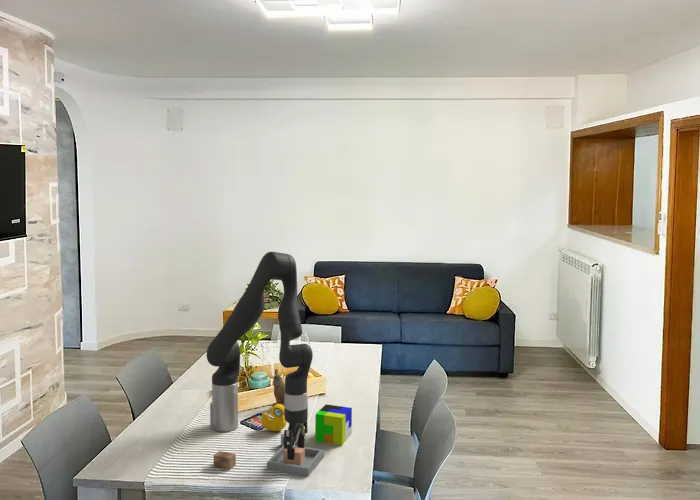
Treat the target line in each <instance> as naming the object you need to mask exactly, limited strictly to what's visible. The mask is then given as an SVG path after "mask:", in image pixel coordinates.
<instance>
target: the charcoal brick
mask: <svg viewBox="0 0 700 500" xmlns="http://www.w3.org/2000/svg"><path fill="white" fill-rule="evenodd" d="M293 438H294V437H293ZM280 445H281V447H282V446H283V445H284V433H280ZM289 445H290V444H289ZM295 446H298V441H297V442H296V443H295Z"/></svg>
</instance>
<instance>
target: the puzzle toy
mask: <svg viewBox="0 0 700 500" xmlns="http://www.w3.org/2000/svg"><path fill="white" fill-rule="evenodd" d="M352 409H353V407H348V406H347V407H346V406H341V405H333V404H325V405H324V406H322V407H321V408H320V409H319V410H318V411H317V412H316V413H315V417H314V418H315V422H314V423H315V433H314V434H315V442H319V443H324V442H325V443H324V444H332V445H338V446H343V445H344V444H345V443H346V442H347V440H348V439H349V438H350V437H351V436H352V433H353V432H352V430H353V429H352V428H353V427H352V426H353V425H352V423H353V422H352V419H353V418H352V415H353V413H352V412H353V410H352ZM344 442H345V443H344Z"/></svg>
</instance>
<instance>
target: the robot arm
mask: <svg viewBox="0 0 700 500" xmlns="http://www.w3.org/2000/svg"><path fill="white" fill-rule="evenodd" d="M297 271H298V270H297V264H296V260H295V257H293V255H291V254H289V253H285V252H283V253H282V252H277V251H268V252H267V253H265V254H264V255H263V256H262V258H261V259H260V261H259V263H258V265H257V268H256V269H255V271H254V274H253V276H252V278H251V280H250V282H249V284H248V285H247V287H246V289H245V290H244V292H243V294H242V296H241V297H240V299H239V300H238V302H236V304H235V306H234V308H233V309H232V312H231V313H230V315H229V317H228V318H227V319H226V321H225V323H224V325H223V326H222V327H221V330H219V331H218V333H217V335H216V336H215V337H214V338H213V340H212V341H211V342H210V343H209V345H208V347H207V348H206V349H207V350H206V359H207V362H208V364H209V365H211V366H213V367H217V369H216V370H215V371H214V373H213V374H212V376H211V397H212V399H211V402H210V403H209V411H210V412H209V415H210V416H209V417H210V420H209V421H210V422H209V423H210V425H209V426H210V429H213V430H214V431H216V432H231V431H234V430H236V429H237V428H239V404H238V403H239V399H238V398H239V397H238V396H239V395H238V394H239V391H238V389H239V388H238V384H239V383H238V382H239V381H238V377H239V375H240V367H241V348H240V345H239V343H238V341H239V340H240V339H241V338H242V337H243V336H245V334H247V333H248V332H249V331H250V330H251V329H253V327H254V326H255V325H256V324H257V322H258V321H259V320H260V318H261V316H262V315H263V313H264V310H265V303H266V302H265V294H264V293H265V290H266V287H267V286H268V284H269V282H270V281H271V280H276V281H281V282H282V286H283V294H282V295H283V296H282V298H281V301H280V304H279V307H278V311H277V319H278V326H279V332H280V346H279V353H278V355H279V356H278V357H279V358H278V359H279V363H280V364H281V366H282V367H283V368H285V369H290V368H297V369H296V370H295V371H292V372H290V373H287V374H286V375H285V378H284V383H285V397H284V416H283V417H284V419H285V421H286V422H287V424H288V428H287V429H284V430H283V434H284V449H287V458H288V459H289V460H294V459H295V443H296V442H297V441H298V448H304V447H306V446H305V438H306V434H308V430H309V429H308V419H309V418H308V417H309V411H308V410H309V408H308V407H309V402H308V401H309V398H308V377H309V372H310V368H311V366H312V362H313V356H314V354H313V349H312V347H311V346H310V345H309V344H307V343H298V344H297V343H296V344H290V343H291V341H293V340H296V339H299V338H300V337H301V336H302V335H303V327H302V322H301V316H300V311H299V303H298V272H297ZM293 437H294V438H293ZM289 444H290V445H289Z"/></svg>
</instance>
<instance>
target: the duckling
mask: <svg viewBox="0 0 700 500" xmlns="http://www.w3.org/2000/svg"><path fill="white" fill-rule="evenodd" d="M268 410H269V413H270V415H269V413H268V412H263V414H261V417H260V422H261V425H262V427H263V428H264V429H265V430H268V431H270V432H280V431H282V430H284V429H285V427H286V426H287V424H288V422H286V421H285V419H284V406H283V405H282V404H276V405H274V406H273V407H269V409H268ZM270 416H271V417H273V418H270Z"/></svg>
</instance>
